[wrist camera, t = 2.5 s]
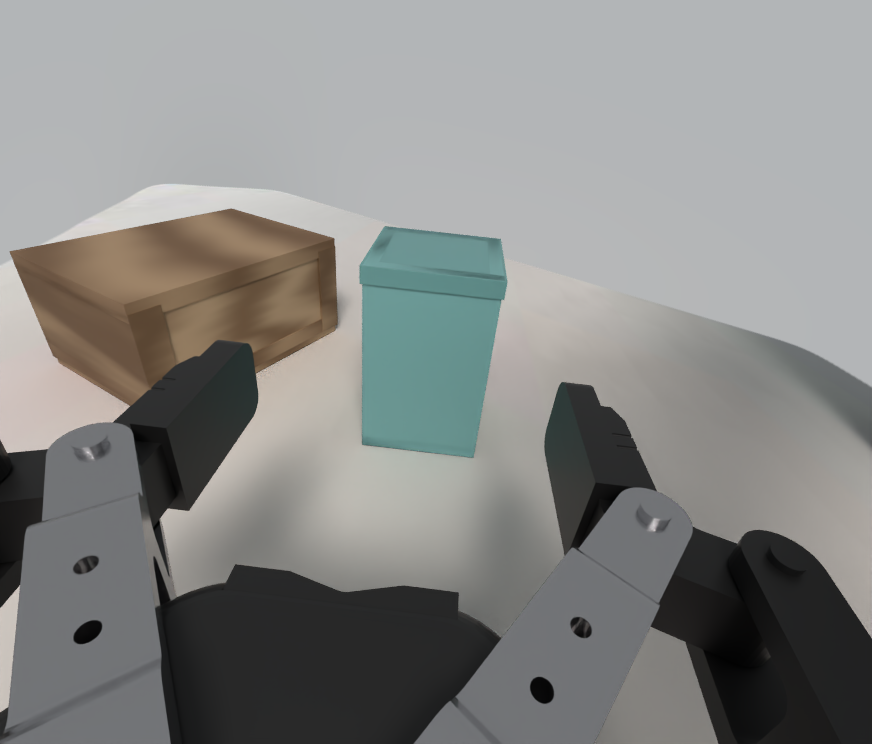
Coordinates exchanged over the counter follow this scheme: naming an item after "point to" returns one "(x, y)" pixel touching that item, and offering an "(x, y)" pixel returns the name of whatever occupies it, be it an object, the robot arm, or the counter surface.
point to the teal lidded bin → (428, 338)
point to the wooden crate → (179, 295)
